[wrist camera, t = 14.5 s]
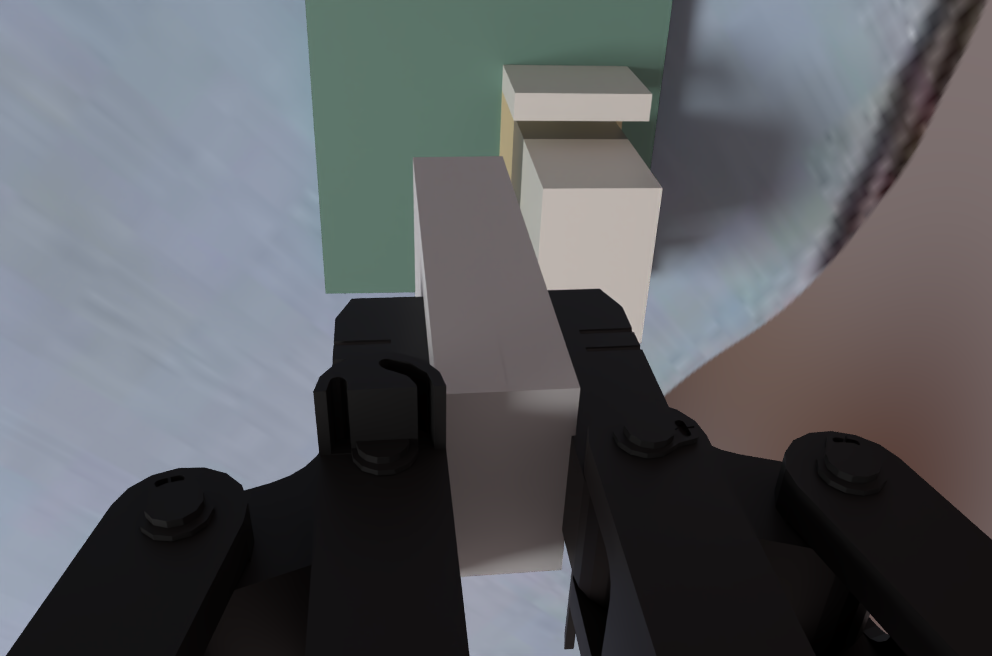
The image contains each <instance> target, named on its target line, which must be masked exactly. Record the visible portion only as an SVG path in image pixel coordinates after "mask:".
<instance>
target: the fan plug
mask: <svg viewBox="0 0 992 656" xmlns="http://www.w3.org/2000/svg"><path fill="white" fill-rule="evenodd" d="M511 183H512V186H513V189H514V192H515V195H516V198H517V201H518V204H519V207H520V210H521V212H522V215H523V218H524V221H525V224H526V227H527V230H528V233H529V236H530V239H531V242H532V245H533V248H534V251H535V254H536V257H537V260H538V263H539V266H540V269H541V272H542V275H543V278H544V281H545V284H546V287H547V290H570V289H601V290H602V291H603V292H605V293H606V294H607V295H608V296H610V297H611V298H612V299H613V300H615V301H616V302H617V303H618V304H620V305H621V306H622V307H623V309H624V311H625V314H626V316H627V318H628V320H629V322H630V324H631V327H632V332H634V333H635V335H636V337H637V340H638V342H639V343H641V340H642V333H643V326H644V318H645V311H646V304H647V297H648V290H649V283H650V275H651V268H652V261H653V254H654V247H655V240H656V233H657V225H658V218H659V211H660V204H661V197H662V190H663V188H662V186H661V185H660V184H659V182H658V181H657V179H656V178H655V177H654V175H653V174H652V172H651V171H650V169H649V168H648V167H647V165H646V164H645V162H644V161H643V160H642V158H641V157H640V155H639V154H638V152H637V151H636V150H635V148H634V147H633V145H632V144H631V143H630V141H629V140H628V138H627V137H626V135H625V134H624V133H623V131H622V130H621V128H620V127H619V126H618V124H617V123H616V121H514V131H513V153H512V174H511Z"/></svg>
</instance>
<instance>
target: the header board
mask: <svg viewBox="0 0 992 656" xmlns="http://www.w3.org/2000/svg"><path fill="white" fill-rule="evenodd" d="M305 4H306V19H307V33H308V47H309V62H310V76H311V90H312V104H313V119H314V133H315V147H316V161H317V176H318V190H319V204H320V218H321V233H322V247H323V261H324V276H325V290H326V294H328V293H395V292H415V246H414V192H413V157H478V156H503V159H504V162H505V165H506V168H507V171H508V174H509V177H510V180H511V174H512V153H513V131H514V121H616V123H617V124H618V126H619V127H620V128H621V130H622V131H623V133H624V134H625V135H626V137H627V138H628V140H629V141H630V143H631V144H632V145H633V147H634V148H635V150H636V151H637V152H638V154H639V155H640V157H641V158H642V160H643V161H644V162H645V164H646V165H647V167H648V168H649V169H650V168H651V160H652V152H653V145H654V137H655V130H656V122H657V114H658V107H659V99H660V92H661V84H662V76H663V69H664V61H665V54H666V46H667V38H668V31H669V23H670V16H671V8H672V0H305Z"/></svg>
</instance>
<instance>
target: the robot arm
mask: <svg viewBox="0 0 992 656" xmlns="http://www.w3.org/2000/svg"><path fill="white" fill-rule="evenodd" d="M413 192H414V246H415V297H392V298H359V299H351V300H350V302H349V303H348V304H347V305H346V306H345V308H344V309H343V310H342V311H341V313H340V314H339V315H338V316H337V317H336V319H335V333H334V347H333V364H332V367H331V368H330V369H328V370H327V371H326V372H325V373H324V374H322V375H321V376H320V377H319V380H318V382H317V384H316V387H315V389H314V391H313V393H314V404H315V414H316V424H317V435H318V445H319V454H318V455H317V456H316V457H315V458H314V459H313V460H312V461H311V462H310V463H309V464H308V465H306V466H305V467H304V468H302V469H300V470H299V471H297V472H295V473H294V474H292V475H290V476H288V477H285V478H283V479H280V480H277V481H275V482H272V483H269V484H266V485H262V486H259V487H255V488H252V489H248V490H245V491H244V490H243V487H242V485H241V484H240V483H238V482H237V481H236V480H234V479H233V478H232V477H230V476H229V475H228V474H227V473H223V472H219V471H216V470H212V469H208V468H177V469H174V470H170V471H166V472H163V473H159V474H155V475H152V476H150V477H148V478H146V479H144V480H143V481H141V482H139V483H137V484H135V485H133V486H132V487H130V488H128V489H127V490H126V491H125V492H124V493H123V494H122V495H121V496H120V497H119V498H118V499H117V500H116V501H115V502H114V503H113V504H112V505H111V506H110V508H109V509H108V511H107V512H106V513H105V515H104V516H103V518H102V519H101V521H100V522H99V523H98V525H97V526H96V528H95V529H94V531H93V532H92V533H91V535H90V536H89V538H88V539H87V541H86V542H85V543H84V545H83V546H82V548H81V549H80V551H79V552H78V553H77V555H76V556H75V558H74V559H73V561H72V562H71V563H70V565H69V566H68V568H67V569H66V571H65V572H64V573H63V575H62V576H61V578H60V579H59V581H58V582H57V583H56V585H55V586H54V588H53V589H52V591H51V592H50V593H49V595H48V596H47V598H46V599H45V601H44V602H43V603H42V605H41V606H40V608H39V609H38V611H37V612H36V613H35V615H34V616H33V618H32V619H31V621H30V622H29V623H28V625H27V626H26V628H25V629H24V631H23V632H22V633H21V635H20V636H19V638H18V639H17V641H16V642H15V643H14V645H13V646H12V648H11V649H10V651H9V652H8V653H7V655H6V656H469V648H468V639H467V630H466V621H465V612H464V603H463V595H462V586H461V577H464V576H479V575H494V574H508V573H523V572H538V571H552V570H561V569H562V559H563V550H564V540H565V544H566V548H567V552H568V556H569V560H570V564H571V568H572V573H571V582H570V591H569V599H568V608H567V617H566V626H565V644H564V649H574V641H575V633H576V637H577V641H578V646H579V650H580V654H581V656H992V540H991V539H990V538H989V537H988V536H987V535H986V534H985V533H983V532H982V531H981V530H980V529H979V528H978V527H977V526H976V525H975V524H973V523H972V522H971V521H970V520H969V519H968V518H967V517H965V516H964V515H963V514H962V513H961V512H960V511H959V510H957V509H956V508H955V507H954V506H953V505H952V504H951V503H950V502H949V501H947V500H946V499H945V498H944V497H943V496H942V495H941V494H940V493H938V492H937V491H936V490H935V489H934V488H933V487H931V486H930V485H929V484H928V483H927V482H926V481H925V480H924V479H922V478H921V477H920V476H919V475H918V474H917V473H916V472H915V471H913V470H912V469H911V468H910V467H909V466H908V465H907V464H906V463H904V462H903V461H902V460H901V459H900V458H899V457H897V456H896V455H894V454H893V453H891V452H890V451H888V450H887V449H885V448H884V447H882V446H881V445H879V444H877V443H874V442H872V441H869V440H866V439H864V438H861V437H859V436H856V435H851V434H845V433H839V432H833V431H828V432H817V433H808V434H806V435H804V436H802V437H800V438H797V439H795V440H793V442H792V443H791V445H790V446H789V447H788V449H787V450H786V452H785V454H784V458H783V462H781V461H775V460H769V459H763V458H758V457H752V456H745V455H740V454H736V453H732V452H728V451H724V450H720V449H718V448H716V447H713V446H712V445H711V443H710V441H709V439H708V437H707V435H706V434H705V433H704V431H703V430H702V429H701V428H700V426H699V425H698V424H697V423H696V422H695V421H694V420H693V419H691V418H690V417H688V416H686V415H685V414H683V413H681V412H680V411H678V410H676V409H673V408H670V407H669V406H668V404H667V402H666V400H665V398H664V396H663V393H662V391H661V389H660V387H659V385H658V383H657V381H656V378H655V376H654V374H653V372H652V370H651V368H650V365H649V363H648V361H647V359H646V357H645V355H644V352H643V350H640V344H639V342H638V340H637V337H636V335H635V333H634V332H632V327H631V324H630V322H629V320H628V318H627V316H626V314H625V311H624V309H623V307H622V306H621V305H620V304H618V303H617V302H616V301H615V300H613V299H612V298H611V297H610V296H608V295H607V294H606V293H605V292H603V291H602V290H601V289H570V290H547V287H546V284H545V281H544V278H543V275H542V272H541V269H540V266H539V263H538V260H537V257H536V254H535V251H534V248H533V245H532V242H531V239H530V236H529V233H528V230H527V227H526V224H525V221H524V218H523V215H522V212H521V210H520V207H519V204H518V201H517V198H516V195H515V192H514V189H513V186H512V183H511V180H510V177H509V174H508V171H507V168H506V165H505V162H504V159H503V156H478V157H413ZM870 614H871V615H872V616H873V617H874V619H875V620H876V621H877V622H878V623H879V624H880V625H881V626H882V628H883V629H884V630H885V631H886V632H887V633H888V634H889V635H888V634H886V633H884V632H883V631H882V630H881V629H880V628H879V627H878V626H877V625H876V624H875V623H874V622H873V621H872V620H871V619H870V618H869V615H870Z"/></svg>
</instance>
